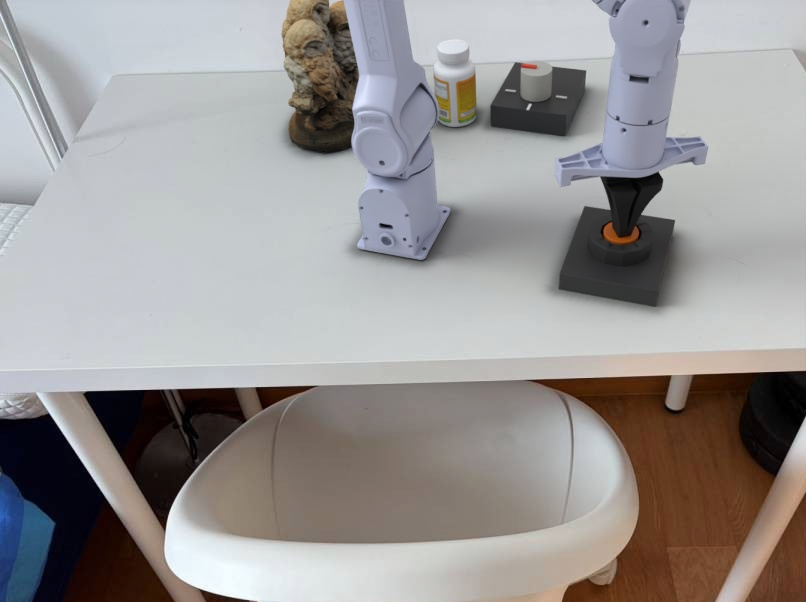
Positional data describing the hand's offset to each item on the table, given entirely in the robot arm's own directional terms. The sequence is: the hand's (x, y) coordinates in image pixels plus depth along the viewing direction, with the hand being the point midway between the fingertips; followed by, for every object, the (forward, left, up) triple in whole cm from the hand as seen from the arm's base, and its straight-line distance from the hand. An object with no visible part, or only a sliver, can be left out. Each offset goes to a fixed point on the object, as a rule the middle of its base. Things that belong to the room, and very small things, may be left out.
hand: (621, 231), depth 81 cm
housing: (0, 0, -4) cm, 4 cm away
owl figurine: (+19, +41, -4) cm, 45 cm away
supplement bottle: (+24, +26, -4) cm, 36 cm away
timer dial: (+27, +16, -1) cm, 31 cm away
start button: (0, 0, -2) cm, 2 cm away
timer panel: (+29, +16, -4) cm, 33 cm away
